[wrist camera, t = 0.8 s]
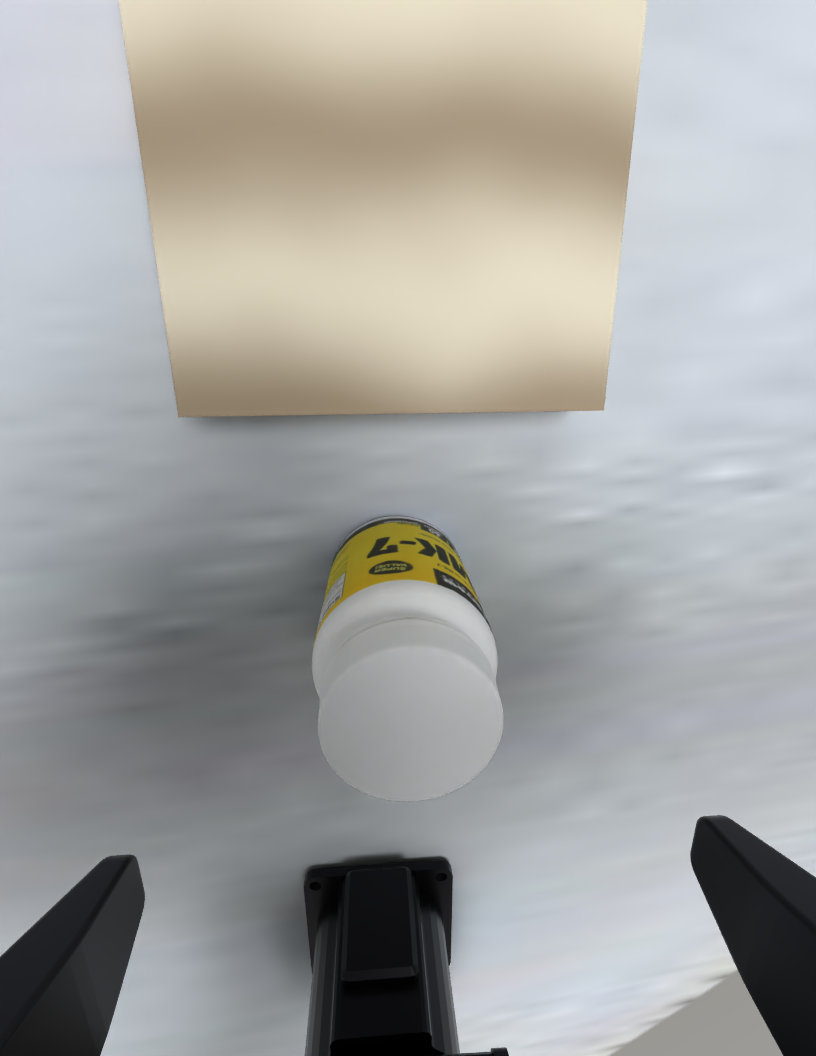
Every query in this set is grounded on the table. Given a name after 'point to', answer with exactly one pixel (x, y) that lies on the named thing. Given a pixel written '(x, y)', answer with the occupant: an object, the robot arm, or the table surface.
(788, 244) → the table surface
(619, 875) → the table surface
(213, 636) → the table surface
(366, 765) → the supplement bottle
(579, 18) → the birch base
